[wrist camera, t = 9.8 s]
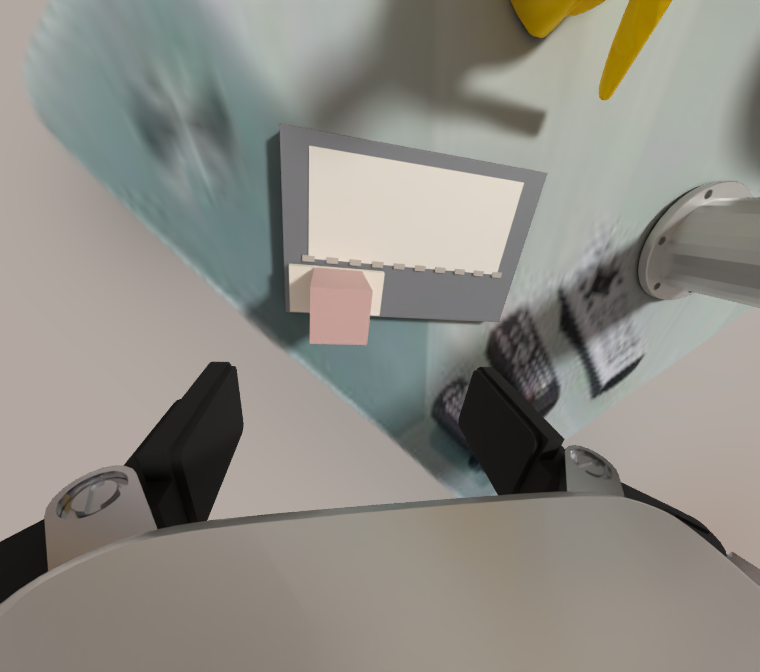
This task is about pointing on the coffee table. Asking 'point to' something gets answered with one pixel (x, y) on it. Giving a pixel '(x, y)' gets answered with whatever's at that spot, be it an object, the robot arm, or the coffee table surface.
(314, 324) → the stub
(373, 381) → the coffee table surface
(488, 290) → the board
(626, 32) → the figure statuette
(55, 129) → the coffee table surface
